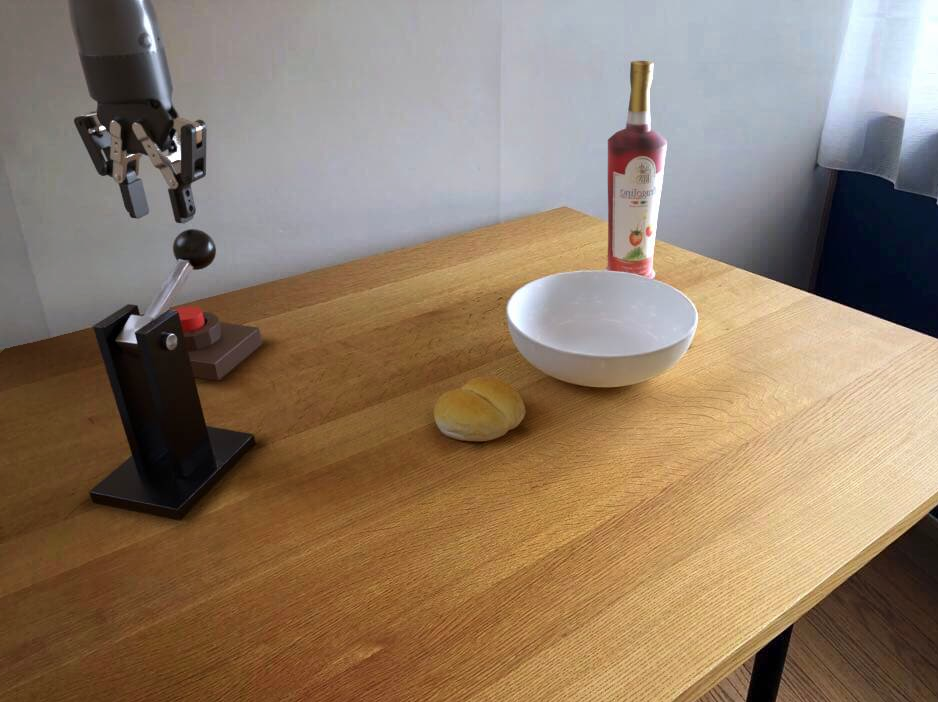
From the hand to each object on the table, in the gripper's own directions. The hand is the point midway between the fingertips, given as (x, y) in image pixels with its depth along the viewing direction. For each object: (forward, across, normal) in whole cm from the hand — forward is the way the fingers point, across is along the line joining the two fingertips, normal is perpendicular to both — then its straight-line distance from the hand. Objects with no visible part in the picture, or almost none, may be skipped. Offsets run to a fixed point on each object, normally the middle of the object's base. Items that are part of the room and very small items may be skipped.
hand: (162, 217), depth 90 cm
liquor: (+17, -44, -34) cm, 58 cm away
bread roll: (+17, -36, +4) cm, 40 cm away
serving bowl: (+17, -45, -11) cm, 49 cm away
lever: (+2, -12, +14) cm, 19 cm away
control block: (+16, 0, 0) cm, 16 cm away
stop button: (+13, 0, 0) cm, 13 cm away
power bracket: (+16, -12, +20) cm, 28 cm away
